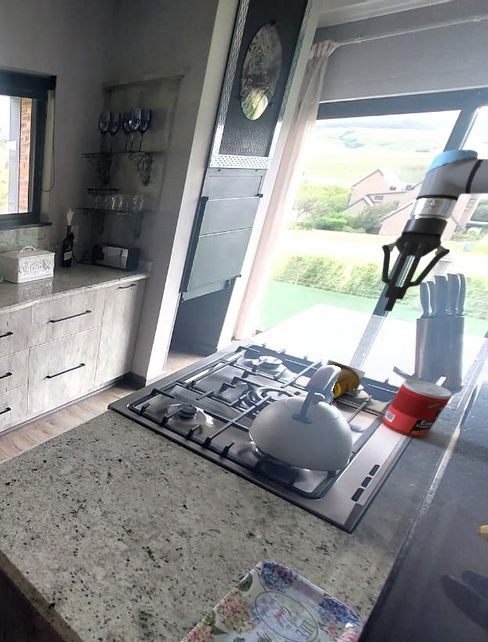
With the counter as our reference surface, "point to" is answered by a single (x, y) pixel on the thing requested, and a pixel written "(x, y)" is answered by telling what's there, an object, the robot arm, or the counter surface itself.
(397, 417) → the canned food
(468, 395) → the counter surface
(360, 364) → the counter surface
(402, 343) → the counter surface
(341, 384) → the condiment
